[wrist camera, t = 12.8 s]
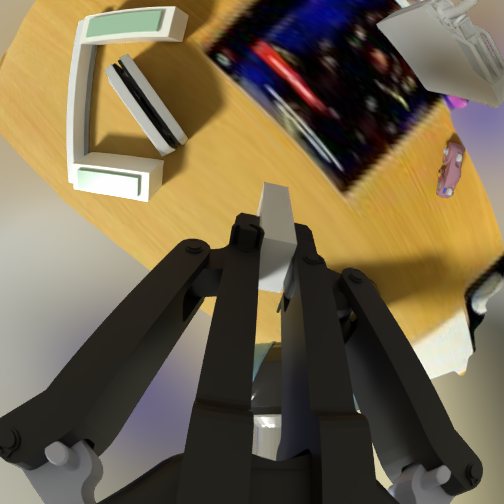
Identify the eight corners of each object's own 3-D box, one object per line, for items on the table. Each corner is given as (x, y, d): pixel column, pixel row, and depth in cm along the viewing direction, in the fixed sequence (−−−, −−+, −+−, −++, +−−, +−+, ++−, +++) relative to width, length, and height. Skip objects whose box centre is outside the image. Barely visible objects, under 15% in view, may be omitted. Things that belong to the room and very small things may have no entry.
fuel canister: (361, 12, 23) (466, -39, 3) (382, -1, 21) (490, -46, 1) (425, 91, 29) (551, 133, 9) (443, 76, 27) (567, 110, 6)
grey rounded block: (109, 80, 31) (89, 67, 22) (134, 61, 31) (120, 43, 22) (164, 158, 39) (158, 165, 30) (189, 140, 39) (190, 142, 30)
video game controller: (442, 136, 34) (448, 141, 29) (464, 145, 32) (473, 151, 27) (429, 186, 40) (433, 199, 35) (451, 195, 38) (457, 208, 33)
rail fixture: (161, 185, 42) (146, 203, 36) (81, 173, 40) (60, 188, 35) (188, 15, 25) (174, 5, 20) (93, 22, 24) (68, 19, 19)
